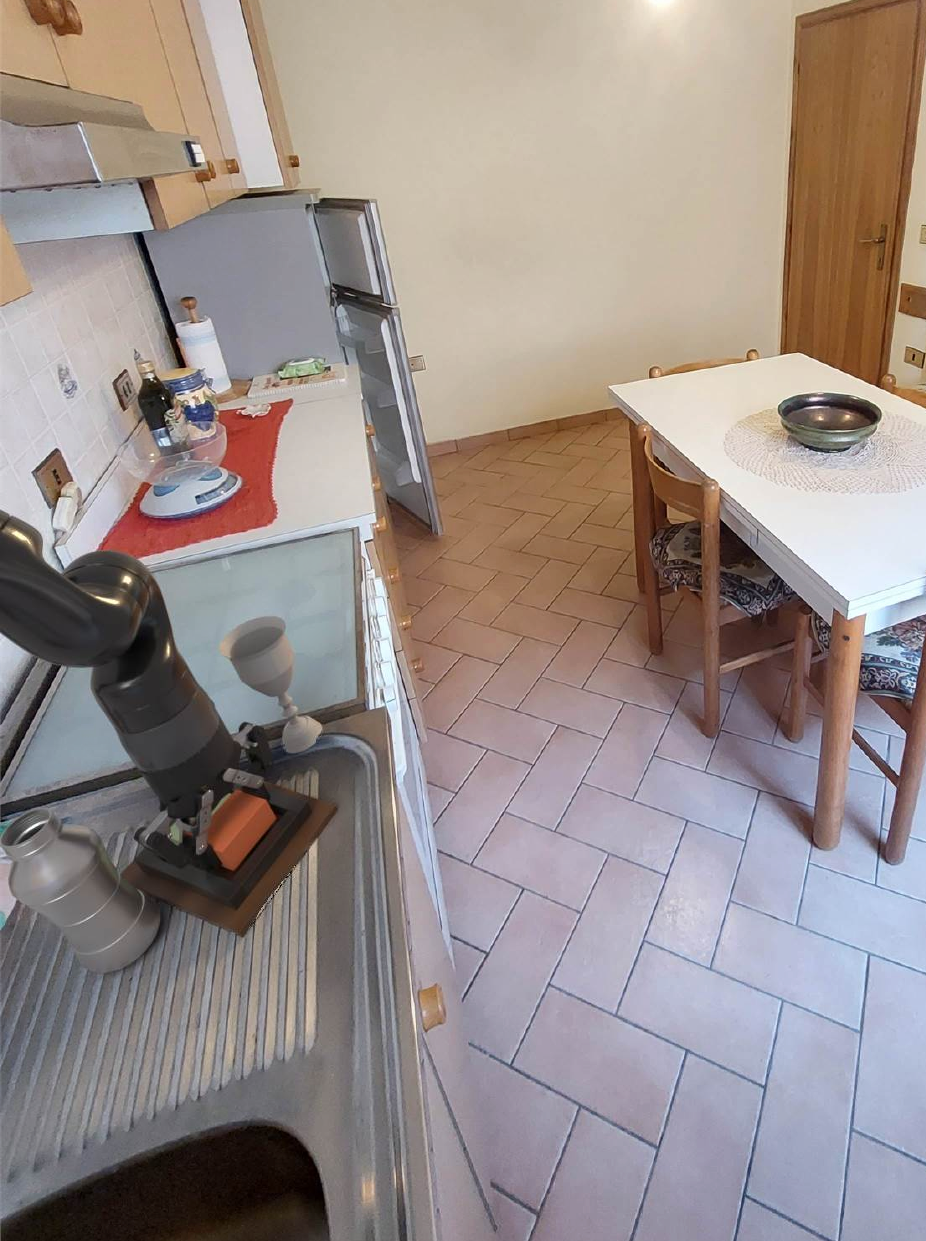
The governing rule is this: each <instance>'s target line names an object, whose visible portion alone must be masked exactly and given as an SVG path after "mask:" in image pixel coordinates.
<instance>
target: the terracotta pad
mask: <svg viewBox="0 0 926 1241" xmlns="http://www.w3.org/2000/svg"><path fill="white" fill-rule="evenodd" d="M275 820H276V817H275V815H274V813H273V811H272V810H271V808H270V806H269V804H268V803H267V801H266V800H265V799H262V798H259V797H255V796H253V795H250V794H247V793H244V792H242V791H239V790H235V791H234V792H233V793H232V794H231V795H230V797H229V798H228V799H227V800H226V801H225V802H224V803H223V804H222V805H221V807H220V808H219V809H218V810H217V811H216V812H215V813H214V814H213V815H212V817H211V828H210V829H208V838H207V843H209V844H211V845H212V847H213V848H214V849H213V850H214V851H215V853H216V854H217V856H218V857H219V859H220V860H221V862H222V865H221V866H222V867H225V868H227V869H230V870H232V871H234V870H235V869H236V868H237V867H238V865H239V864H240V863H241V862H242V861H243V859H244V858H245V857H246V856H247V854H248V853H249V852H250V851H251V849H252V848H253V847H254V846H255V845H256V843H257V842H258V841H259V840H260V838H261V837H262V836H263V835H264V833H265V832H266V831H267V830H268V829H269V827H270V826H271V825H272V824H273V822H274V821H275Z"/></svg>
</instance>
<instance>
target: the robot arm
mask: <svg viewBox="0 0 926 1241" xmlns="http://www.w3.org/2000/svg"><path fill="white" fill-rule="evenodd" d="M43 546H44V538H43V535H42V533H41V532H40V530H38V529H37V528H36V527H34V526H33V525H31V524H29V523H28V522H26V521H24V520H22V519H20V518H19V517H18V516H17V517H16V516H14V515H11V514H10V513H8V512H6V511H5V510H2V509H0V634H1V635H2V636H3V637H5V638H6V639H7V640H9V641H10V642H12V643H13V644H14V645H16V646H17V647H19V648H20V649H22V650H23V651H25V652H26V653H28V654H30V655H31V656H33V657H35V658H37V659H39V660H41V661H44V662H46V663H49V664H52V665H55V666H60V667H66V668H73V669H74V668H75V669H87V668H92V669H91V675H90V684H89V685H90V691H91V693H92V696H93V697H94V699H95V701H96V703H97V705H98V707H99V708H100V709H101V711H102V712H103V714H104V715H105V716H106V718H107V719H108V721H109V722H110V724H111V725H112V727H113V729H114V730H115V732H116V735H117V737H118V740H119V742H120V745H121V746H122V748H123V750H124V751H125V753H126V754H127V756H128V757H129V758H130V760H131V762H132V763H133V765H134V766H135V767H136V769H137V770H138V772H139V773H140V775H141V776H142V777H143V779H144V780H145V782H146V784H148V786H149V787H150V789H151V790H152V792H153V793H154V794H155V795H156V797H157V798H158V801H159V804H158V805H159V813H158V815H157V816H156V817H155V818H154V819H153V821H152V822H151V823H149V825H148V826H141V827H139V828H137V829H136V831H135V832H134V835H133V840H134V841H135V842H137V843H138V844H139V845H141V846H142V847H143V849H144V848H146V849H147V850H148V851H150V852H151V853H152V854H153V855H155V856H156V857H157V858H158V859H160V860H161V861H162V862H165V863H169V864H171V865H174V866H175V867H177V868H179V869H183V868H184V867H186V866H187V864H188V863H189V861H190V858H191V859H192V861H193V862H194V863H195V865H196V866H197V867H199V868H201V869H204V870H206V871H211V870H212V869H215V870H218V869H219V867H220V866H221V865H222V862H221V860H220V859H219V857H218V856H217V854H216V853H215V851H214V850H213V849H214V848H213V847H212V845H211V844H209V843H207V838H208V829H210V828H211V812H212V811H213V810H214V809H215V808H216V807H217V805H218V804H219V802H220V801H221V799H222V798H224V797H225V796H226V795H227V794H229V792H230V791H231V790H232V789H233V788H234V786H233V785H234V783H236V784H239V785H243V786H242V787H241V790H242V791H243V792H244V793H247V794H250V795H253V796H255V797H259V798H262V799H265V800H266V801H267V803H268V804H269V801H270V794H269V792H268V790H267V788H266V787H265V785H264V783H263V782H264V781H265V778H264V776H265V774H266V772H269V771H271V770H272V769H273V767H274V766H275V759H274V757H273V753H272V750H271V746H270V743H269V740H268V737H267V733H266V730H265V727H264V726H262V725H257V724H256V723H251V722H248V721H243V722H242V723H241V724H240V725H239V727H238V733H237V734H236V735H235V736H234V737H233V736H232V735H231V733H230V731H229V729H228V727H227V726H226V724H225V722H224V720H223V718H222V717H221V715H220V714H219V712H218V710H217V708H216V705H215V704H216V703H215V702H214V700H212V699H211V697H210V696H209V694H208V692H206V689H204V688H203V687H202V686H201V685H200V683H199V682H198V680H197V679H196V677H195V676H194V673H193V672H192V670H191V668H190V666H189V664H188V663H187V661H186V659H185V658H184V656H183V655H182V653H181V652H180V650H179V649H178V646H177V643H176V640H175V635H174V631H173V627H172V623H171V619H170V615H169V612H168V608H167V605H166V602H165V599H164V596H163V593H162V590H161V586H160V585H159V583H158V581H157V579H156V578H155V576H154V574H153V572H152V571H151V570H150V569H149V568H148V567H147V566H146V565H145V564H144V563H143V562H142V561H140V560H139V559H138V558H136V557H134V556H133V555H131V554H129V553H126V552H123V551H119V550H111V549H100V550H95V551H91V552H87V553H85V554H83V555H81V556H79V557H77V558H75V559H74V560H73V561H71V562H70V563H69V564H67V566H66V567H64V569H63V570H62V572H59V571H58V570H57V569H55V568H54V567H53V566H52V565H50V564H49V563H48V562H47V561H46V560H45V558H44V554H43V550H44V549H43V548H44V547H43ZM242 748H243V749H244V752H245V755H246V758H247V762H248V765H249V766H248V768H247V770H246V771H245V770H241V769H239V766H240V760H241V754H242ZM269 806H270V804H269ZM172 819H176V826H177V827H178V829H179V845H176V844H174V843H173V842H172V841H171V840H169V839H170V838H171V837H172V834H171V829H170V827H169V824H170V821H171V820H172Z"/></svg>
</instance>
